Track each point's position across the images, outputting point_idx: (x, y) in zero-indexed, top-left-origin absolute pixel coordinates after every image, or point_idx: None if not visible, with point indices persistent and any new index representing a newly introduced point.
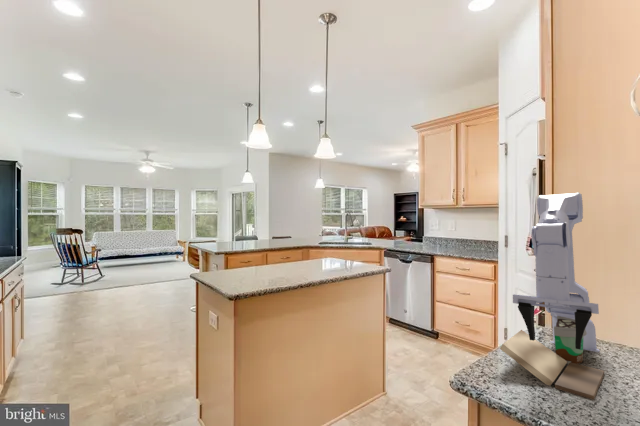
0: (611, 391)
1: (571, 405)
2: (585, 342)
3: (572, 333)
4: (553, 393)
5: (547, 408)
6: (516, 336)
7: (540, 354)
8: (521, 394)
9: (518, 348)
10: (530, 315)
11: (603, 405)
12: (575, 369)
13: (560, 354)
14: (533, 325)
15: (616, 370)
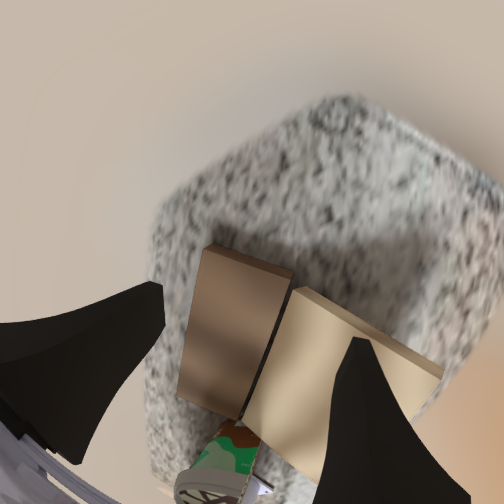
0: (175, 330)
1: (262, 211)
2: None
3: (199, 476)
4: (299, 263)
5: (323, 160)
6: None
7: (304, 413)
8: (384, 214)
9: None
10: (373, 464)
11: (195, 250)
12: (228, 389)
13: (251, 437)
14: (335, 435)
15: (166, 417)
